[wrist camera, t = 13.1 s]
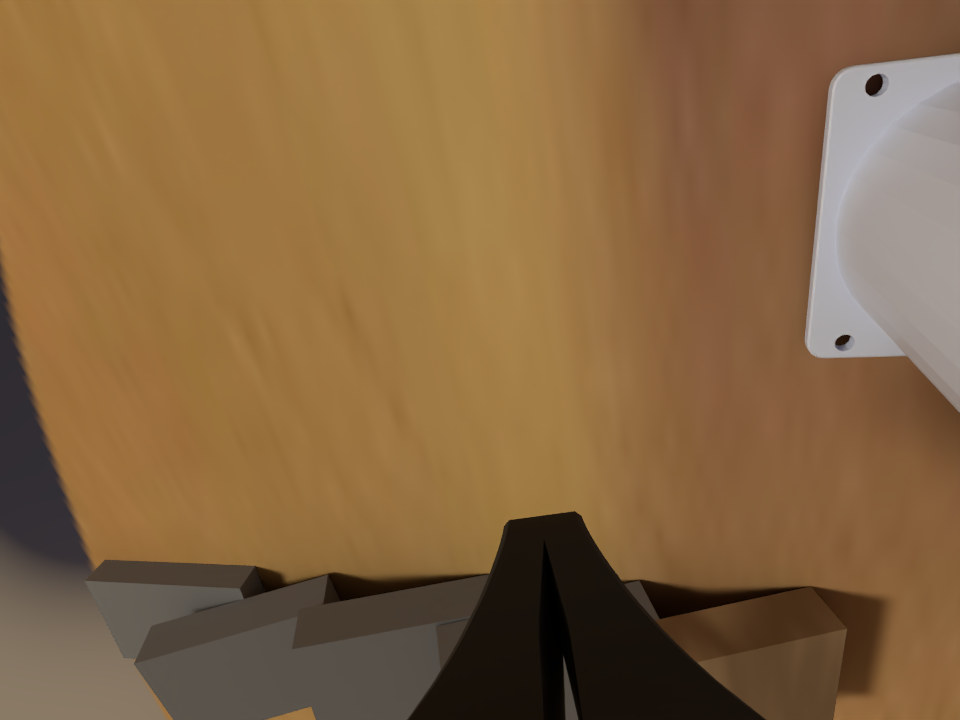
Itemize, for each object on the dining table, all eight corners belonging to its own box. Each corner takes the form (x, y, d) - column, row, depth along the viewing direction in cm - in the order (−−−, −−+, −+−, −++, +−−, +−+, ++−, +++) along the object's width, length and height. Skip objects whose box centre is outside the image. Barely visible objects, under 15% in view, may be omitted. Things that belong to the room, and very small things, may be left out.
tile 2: (502, 610, 24) (291, 649, 24) (515, 700, 27) (322, 737, 26) (495, 573, 26) (299, 608, 26) (508, 659, 28) (327, 694, 28)
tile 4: (239, 588, 28) (84, 580, 29) (270, 669, 30) (123, 657, 32) (262, 555, 29) (114, 550, 31) (290, 634, 31) (150, 625, 33)
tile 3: (322, 609, 26) (133, 663, 26) (363, 691, 28) (189, 741, 28) (327, 574, 28) (151, 625, 28) (366, 653, 30) (202, 701, 30)
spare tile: (847, 628, 22) (619, 679, 21) (832, 727, 24) (624, 776, 23) (810, 586, 24) (600, 632, 23) (799, 681, 26) (606, 725, 25)
